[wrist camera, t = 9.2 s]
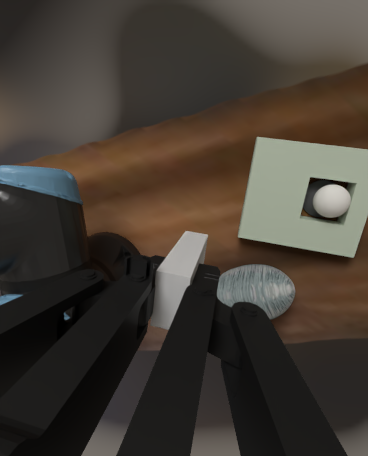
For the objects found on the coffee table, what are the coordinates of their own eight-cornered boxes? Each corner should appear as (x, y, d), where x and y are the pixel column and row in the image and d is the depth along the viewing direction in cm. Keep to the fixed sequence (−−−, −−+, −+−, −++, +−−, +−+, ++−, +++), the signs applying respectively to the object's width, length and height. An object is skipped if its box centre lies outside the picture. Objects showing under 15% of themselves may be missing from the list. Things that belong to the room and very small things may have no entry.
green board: (238, 232, 46) (238, 237, 43) (256, 138, 42) (257, 136, 39) (346, 251, 43) (353, 257, 40) (377, 152, 39) (388, 152, 36)
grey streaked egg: (213, 323, 48) (220, 330, 38) (206, 271, 50) (211, 266, 41) (286, 314, 48) (311, 319, 39) (275, 264, 51) (296, 256, 41)
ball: (352, 221, 39) (323, 212, 43) (362, 188, 37) (331, 182, 42) (330, 222, 37) (302, 213, 41) (340, 187, 35) (310, 181, 40)
